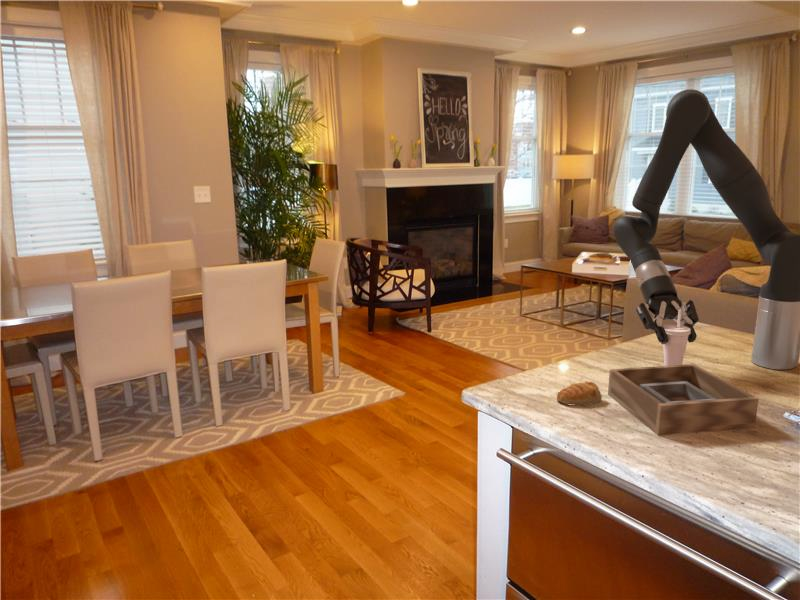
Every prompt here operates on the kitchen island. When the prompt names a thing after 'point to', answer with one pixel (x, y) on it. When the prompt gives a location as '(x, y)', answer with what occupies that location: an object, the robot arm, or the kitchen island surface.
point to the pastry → (580, 394)
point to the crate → (682, 399)
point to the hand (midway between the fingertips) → (679, 341)
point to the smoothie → (675, 342)
